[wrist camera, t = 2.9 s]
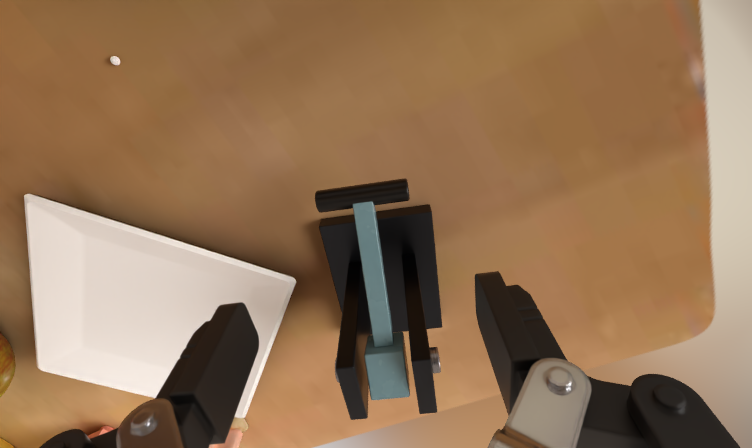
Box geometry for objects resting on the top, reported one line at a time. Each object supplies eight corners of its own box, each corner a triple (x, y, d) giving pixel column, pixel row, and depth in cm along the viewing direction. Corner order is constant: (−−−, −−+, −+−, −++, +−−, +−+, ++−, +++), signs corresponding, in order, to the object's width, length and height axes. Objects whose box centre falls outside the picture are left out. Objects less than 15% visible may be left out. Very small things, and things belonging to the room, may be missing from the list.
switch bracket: (321, 218, 27) (289, 326, 17) (429, 204, 26) (457, 307, 17) (349, 327, 32) (336, 454, 23) (440, 317, 32) (466, 444, 22)
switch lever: (320, 189, 21) (310, 192, 19) (406, 177, 21) (407, 179, 18) (351, 378, 23) (346, 403, 21) (431, 370, 23) (435, 395, 20)
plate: (52, 352, 34) (34, 371, 32) (45, 181, 26) (20, 193, 24) (250, 401, 37) (243, 421, 36) (301, 264, 29) (296, 280, 27)
